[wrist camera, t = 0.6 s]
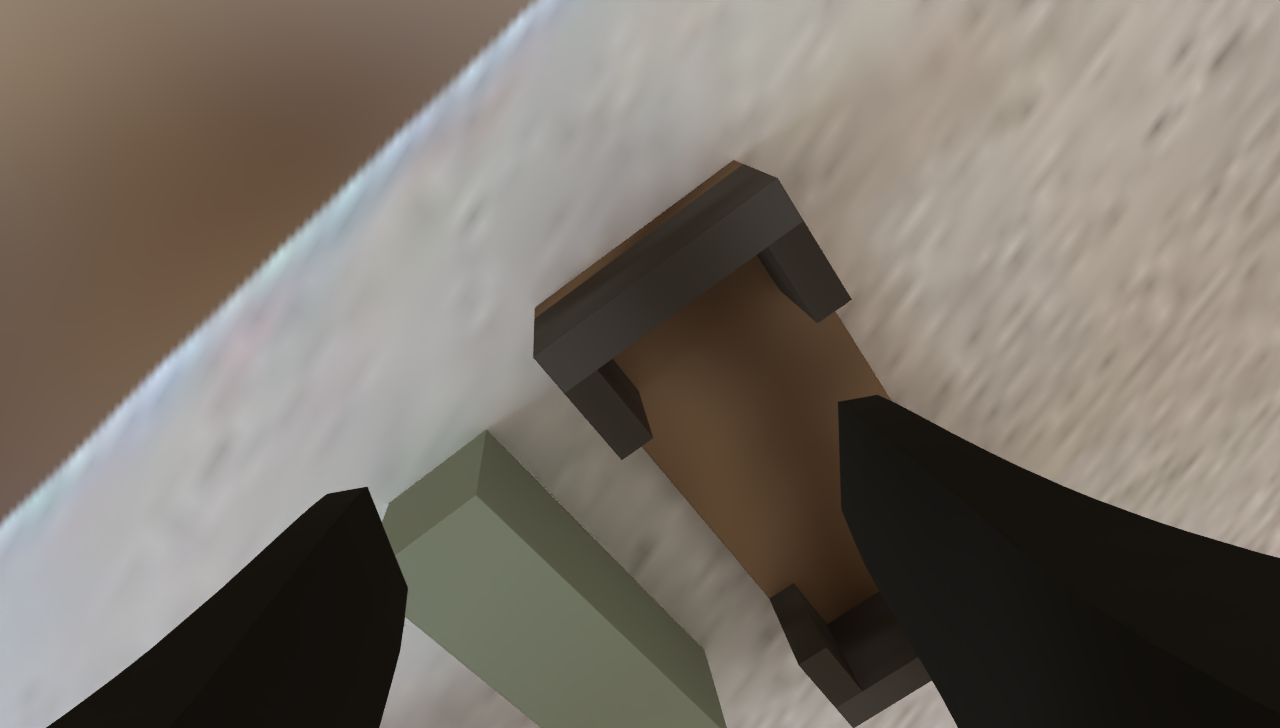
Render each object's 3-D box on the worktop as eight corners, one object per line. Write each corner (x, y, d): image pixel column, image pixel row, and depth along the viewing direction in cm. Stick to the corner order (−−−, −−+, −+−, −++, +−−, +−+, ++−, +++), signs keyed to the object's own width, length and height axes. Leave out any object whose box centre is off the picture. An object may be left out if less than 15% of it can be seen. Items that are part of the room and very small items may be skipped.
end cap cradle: (810, 638, 27) (853, 728, 23) (534, 307, 21) (533, 357, 17) (970, 536, 26) (1042, 612, 22) (733, 160, 20) (777, 178, 16)
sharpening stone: (618, 702, 27) (630, 800, 23) (390, 499, 23) (360, 581, 19) (703, 645, 26) (729, 736, 23) (487, 425, 22) (476, 495, 18)
